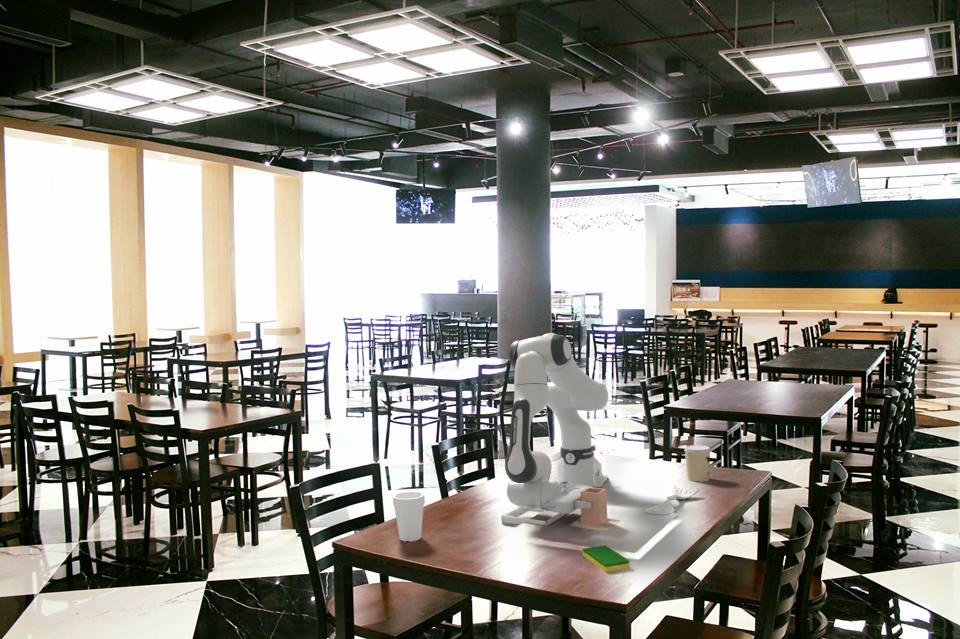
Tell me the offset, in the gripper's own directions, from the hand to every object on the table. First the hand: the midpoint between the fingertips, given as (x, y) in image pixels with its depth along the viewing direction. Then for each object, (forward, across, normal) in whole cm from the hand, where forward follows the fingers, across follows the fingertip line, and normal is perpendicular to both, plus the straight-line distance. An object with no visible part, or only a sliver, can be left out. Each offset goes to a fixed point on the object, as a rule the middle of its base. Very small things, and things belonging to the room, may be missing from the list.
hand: (596, 502), depth 235 cm
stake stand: (-1, 0, +8) cm, 8 cm away
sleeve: (-1, 0, +6) cm, 7 cm away
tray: (-21, 0, +8) cm, 22 cm away
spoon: (+13, +32, +9) cm, 35 cm away
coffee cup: (+11, +71, +8) cm, 72 cm away
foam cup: (-47, -32, +8) cm, 57 cm away
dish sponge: (+13, -26, +9) cm, 30 cm away
